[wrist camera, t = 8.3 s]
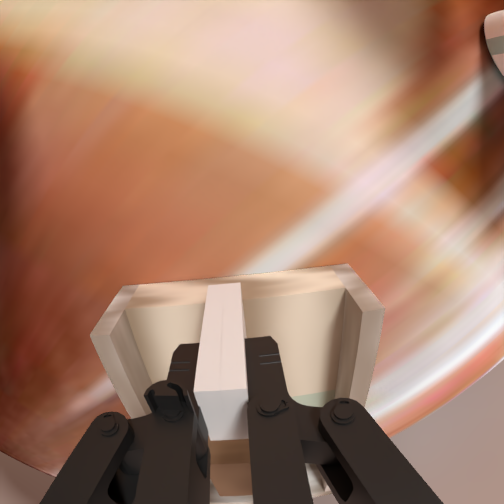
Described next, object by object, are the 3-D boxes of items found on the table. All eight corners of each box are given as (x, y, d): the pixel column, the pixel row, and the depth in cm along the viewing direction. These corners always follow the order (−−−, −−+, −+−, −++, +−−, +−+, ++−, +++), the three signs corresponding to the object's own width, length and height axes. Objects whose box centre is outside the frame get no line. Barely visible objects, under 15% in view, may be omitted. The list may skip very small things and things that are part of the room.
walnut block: (220, 452, 20) (220, 496, 16) (206, 411, 18) (203, 464, 14) (292, 445, 20) (300, 489, 16) (293, 404, 18) (304, 456, 14)
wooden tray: (195, 465, 26) (193, 505, 21) (122, 285, 18) (89, 335, 13) (324, 453, 26) (334, 493, 21) (347, 263, 18) (385, 307, 13)
